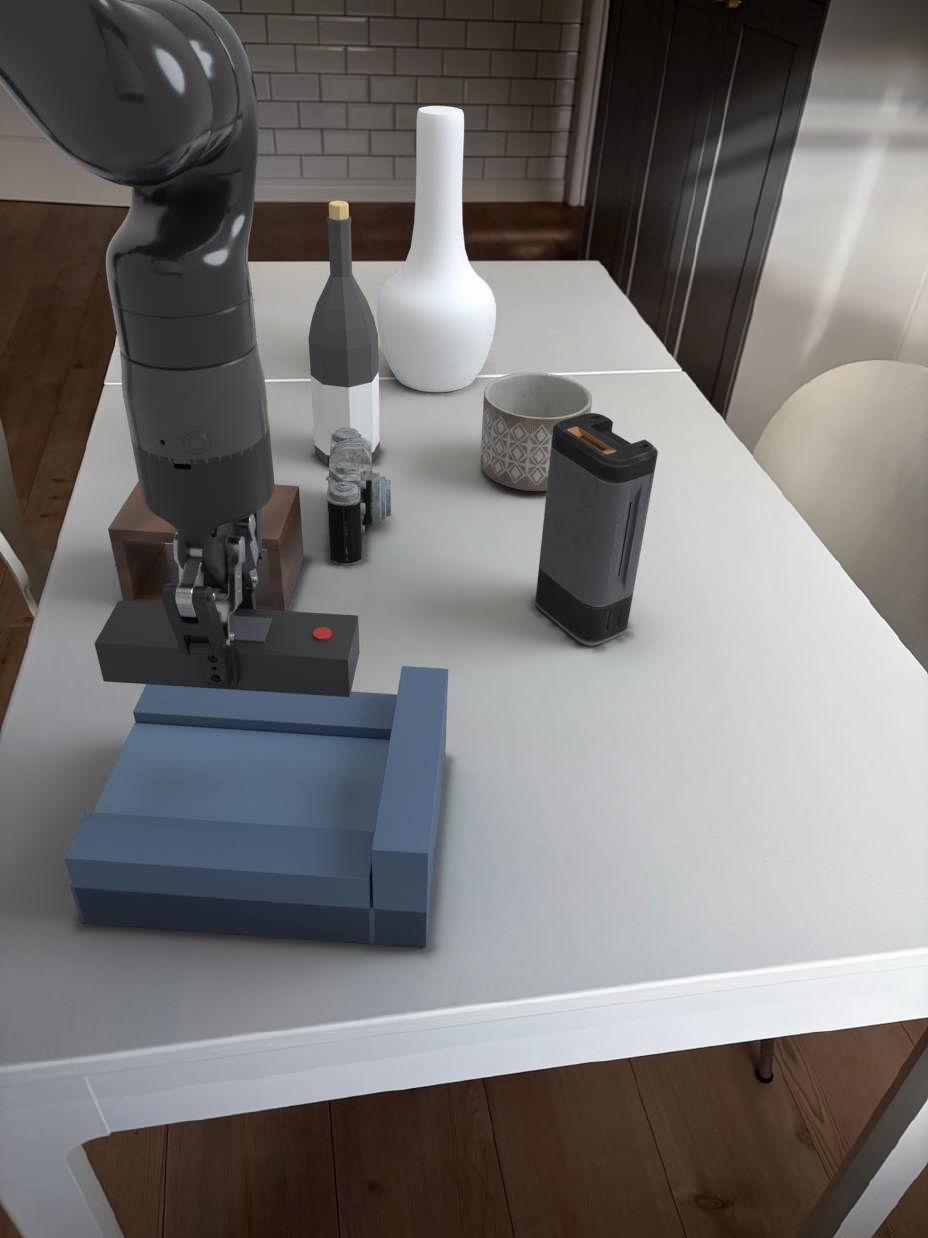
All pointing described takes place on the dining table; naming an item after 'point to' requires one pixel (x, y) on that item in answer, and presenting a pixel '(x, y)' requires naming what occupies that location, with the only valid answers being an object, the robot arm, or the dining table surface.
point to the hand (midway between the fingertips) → (232, 658)
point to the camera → (353, 495)
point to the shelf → (153, 564)
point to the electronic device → (593, 527)
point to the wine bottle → (343, 348)
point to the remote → (266, 649)
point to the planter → (526, 425)
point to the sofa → (271, 814)
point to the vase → (437, 273)
